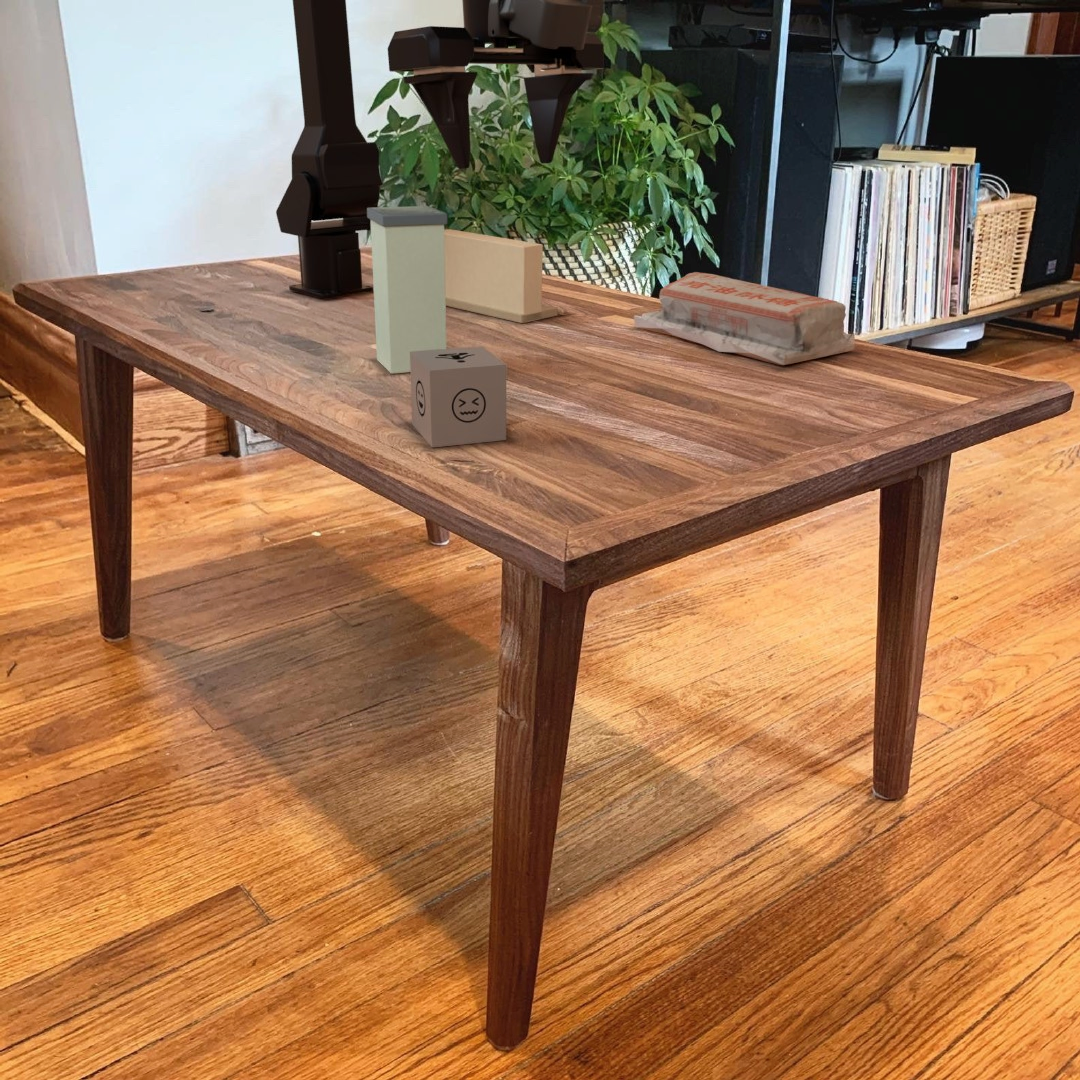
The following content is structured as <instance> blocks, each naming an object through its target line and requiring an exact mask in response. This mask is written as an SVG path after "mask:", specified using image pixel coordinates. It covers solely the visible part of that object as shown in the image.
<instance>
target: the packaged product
mask: <svg viewBox="0 0 1080 1080" xmlns="http://www.w3.org/2000/svg"><path fill="white" fill-rule="evenodd" d="M658 298H659V299H658V300H659V302H660V304H661V310H656V311H649V312H644V313H642V314H641V315H635V314H634V315H633V323H634V328H638V329H643V330H646V331H651V332H655V333H660V334H664V335H669V336H673V337H675V338H679V339H682V340H686V341H689V342H692V343H696V344H699V345H702V346H705V347H707V348H710V349H712V350H714V351H716V352H719V353H722V352H723V353H732V354H735V355H738V356H742V357H747V358H750V359H754V360H757V361H761V362H766V363H769V364H773V365H778V366H785V365H786V366H787V365H791V364H795V363H800V362H804V361H809V360H815V359H819V358H825V357H828V356H833V355H837V354H841V353H842V354H843V353H846V352H851V351H854V350H855V347H856V339H855V333H854V332H853V333H846V332H845V323H844V322H845V320H846V319H845V318H846V316H847V313H846V309H847V308H846V305H845V304H844V303H842V302H839V301H836V300H832V299H829V298H823V297H819V296H813V295H809V294H806V293H801V292H797V291H792V290H789V289H788V290H787V289H784V288H777V287H773V286H769V285H763V284H759V283H755V282H754V283H753V282H750V281H745V280H741V279H735V278H730V277H727V276H722V275H718V274H714V273H706V272H698V271H694V272H690V273H687V274H685V276H682V277H681V278H678V279H677V280H675V281H672V282H670V283H668V284H667V285H665V286H664V287H662V288H661V289H660V291H659V294H658Z"/></svg>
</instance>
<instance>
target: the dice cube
mask: <svg viewBox="0 0 1080 1080" xmlns="http://www.w3.org/2000/svg"><path fill="white" fill-rule="evenodd" d="M507 366H508V365H507V364H506V363H505V362H504V361H502V360H501V359H500V358H499V357H497V356H496V355H494V354H493V353H492V352H491V351H489V350H488V349H487V348H485V347H484V346H469V347H467V346H466V347H455V348H453V347H452V348H447V349H438V350H425V351H411V352H410V372H409V374H410V398H411V399H410V400H411V424H412V426H413V427H414V429H415V430H416V431H417V433H419V434H420V436H421V437H422V438H423V439H424V440H425V442H426V443H427V444H428V445H429V446H430V448H433V449H434V448H442V447H450V446H460V445H470V444H480V443H481V444H482V443H490V442H500V441H507V376H508V375H507V369H508V368H507Z"/></svg>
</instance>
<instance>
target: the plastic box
mask: <svg viewBox="0 0 1080 1080" xmlns="http://www.w3.org/2000/svg"><path fill="white" fill-rule="evenodd" d="M367 218H369V219H370V221H371V230H370V240H371V242H370V243H371V260H372V261H371V264H372V280H373V281H372V283H373V285H372V286H373V304H374V305H373V306H374V307H373V309H374V325H375V327H374V328H375V348H376V350H375V351H376V360H377V362H379V363H380V364H381V365H382V367H384V369H386V371H388V372H389V373H390V374H392V375H393V374H394V375H395V374H403V373H404V374H405V373H410V352H411V351H425V350H438V349H448V348H447V345H448V344H447V306H446V292H445V241H444V230H445V225H448V213H447V212H443V211H441V210H439V209H436V208H434V207H432V206H430V205H409V206H407V205H405V206H383V207H382V206H378V207H372V208H367Z"/></svg>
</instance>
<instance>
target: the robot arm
mask: <svg viewBox="0 0 1080 1080" xmlns="http://www.w3.org/2000/svg"><path fill="white" fill-rule="evenodd" d="M292 7H293V8H292V9H293V17H294V29H295V38H296V39H295V40H296V49H297V59H298V60H297V61H298V69H299V70H298V71H299V79H300V81H299V82H300V91H301V99H302V111H303V120H304V121H303V122H304V124H303V126H304V127H303V128H302V131H301V133H300V135H299V138H298V140H297V142H296V144H295V147H294V149H293V151H292V153H291V180H290V182H289V183H288V186H287V188H286V190H285V192H284V194H283V196H282V198H281V200H280V202H279V204H278V207H276V211H275V214H276V219H277V222H278V227H279V231H280V233H282V234H287V235H290V236H291V235H292V236H296V237H297V239H298V240H297V241H298V242H297V243H298V256H299V269H300V283H297V284H291V285H289V286H288V289H289V291H291V292H296V293H300V294H303V295H307V296H312V297H315V298H320V299H332V298H338V297H339V298H340V297H344V296H350V295H356V294H364V293H369V292H374V286H373V285H369V284H365V283H363V273H362V272H363V271H362V270H363V269H362V255H361V253H362V251H361V249H360V236H359V232H358V231H371V221H370V219H369V218H367V208H372V207H379V201H380V195H381V187H382V186H383V180H382V177H381V171H380V149H379V147H378V144H377V143H376V142H375V141H367V140H366V138H365V137H364V135H363V132H361V130H360V128H359V126H358V125H357V120H356V112H355V111H356V110H355V99H354V98H355V97H354V85H353V73H352V61H351V49H350V37H349V23H348V11H347V1H346V0H292ZM603 16H604V3H603V0H462V17H463V27H459V26H456V27H455V26H435V25H434V26H433V25H429V26H423V27H417V28H410V29H403V30H398V31H397V30H396V31H394V33H393V35H392V37H391V39H390V42H389V44H388V46H387V56H388V57H387V59H388V70H389V72H391V73H392V72H395V73H397V72H398V73H401V72H402V73H403V72H405V73H413V75H407V76H403V77H402V80H403V83H404V85H411V86H412V87H413V89H414V91H415V92H416V94H417V95H418V97H419V99H420V100H421V102H422V104H423V105H424V107H425V108H426V110H427V112H428V114H429V115H430V116H431V118H432V120H433V122H434V124H435V127H436V128H437V130H438V132H439V134H440V135H441V138H442V139H443V141H444V144H445V145H446V148H447V150H448V151H449V154H450V155H451V157H452V160H453V162H454V163H455V165H456V167H457V168H458V169H459V170H467V169H469V168H470V165H471V130H470V129H471V127H470V109H469V108H470V106H469V104H470V103H469V96H470V93H471V91H472V88H473V86H474V83H475V81H476V78H477V76H478V72H477V71H466V67H468V65H525V66H526V67H527V69H528V70H529V71H530V73H532V74H534V76H527V77H523V82H524V83H523V84H524V88H525V93H526V100H527V105H528V111H529V116H530V121H531V127H532V132H533V133H532V134H533V139H534V143H535V149H536V151H537V152H536V153H537V156H538V159H539V162H540V163H541V164H551V163H552V162H553V160H554V155H555V152H556V149H557V145H558V143H559V139H560V135H561V131H562V128H563V125H564V122H565V118H566V114H567V112H568V109H569V106H570V104H571V101H572V99H573V96H574V95H575V94H576V93H577V91H579V89H580V88H581V87H582V86H583V84H584V83H585V82H587V81H588V82H589V81H592V80H593V78H594V75H595V73H593V72H592V73H591V72H583V71H592V70H593V71H594V70H603V69H605V47H604V46H605V44H604V43H603V41H602V40H601V38H600V37H599V36H598V34H597V32H598V31H599V30H600V29H601V27H602V24H603ZM486 45H492V47H488V46H487V47H486Z"/></svg>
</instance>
